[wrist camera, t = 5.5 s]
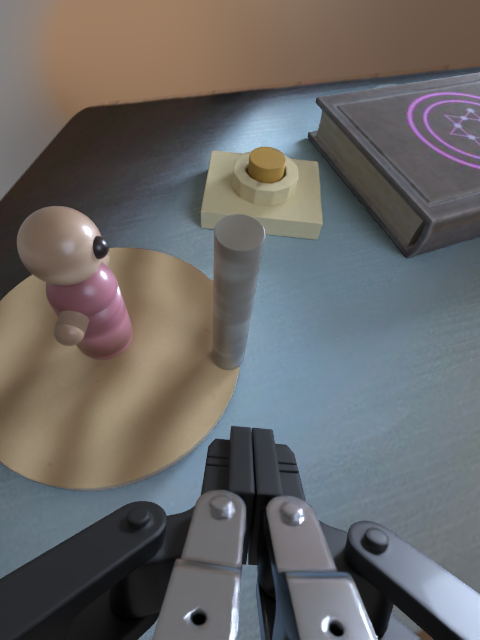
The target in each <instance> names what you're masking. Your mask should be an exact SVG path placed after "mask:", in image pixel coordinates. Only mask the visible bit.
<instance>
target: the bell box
mask: <svg viewBox="0 0 480 640" xmlns="http://www.w3.org/2000/svg"><path fill="white" fill-rule="evenodd" d="M251 152H252V151H251ZM251 152H247V153H244V154H242V153H232V152H223V151H213V150H212V153H211V158H210V164H209V169H208V174H207V180H206V185H205V191H204V196H203V202H202V207H201V228H206V229H215V226H216V224H217V223H218V222H219V221H220V220H221V219H222V218H224V217H226V216H229V215H234V214H242V215H247V216H250V217H253V218H255V219H256V220H258V221H259V222H260V223H261V224H262V226H263V227H264V230H265V235H275V236H285V237H295V238H305V239H315V240H317V239H318V237H319V234H320V231H321V228H322V225H323V219H322V206H321V192H320V178H319V165H318V162H317V161H308V160H298V159H290V158H288V157H286V156H285V158H286V164H285V169H284V174H283V177H282V179H281V180H280V181H279V182H275V183H271V184H270V183H260V182H258V181H256V180H254V179H252V178H251V177H250V176H249V174H248V165H249V156H250V153H251Z"/></svg>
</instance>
